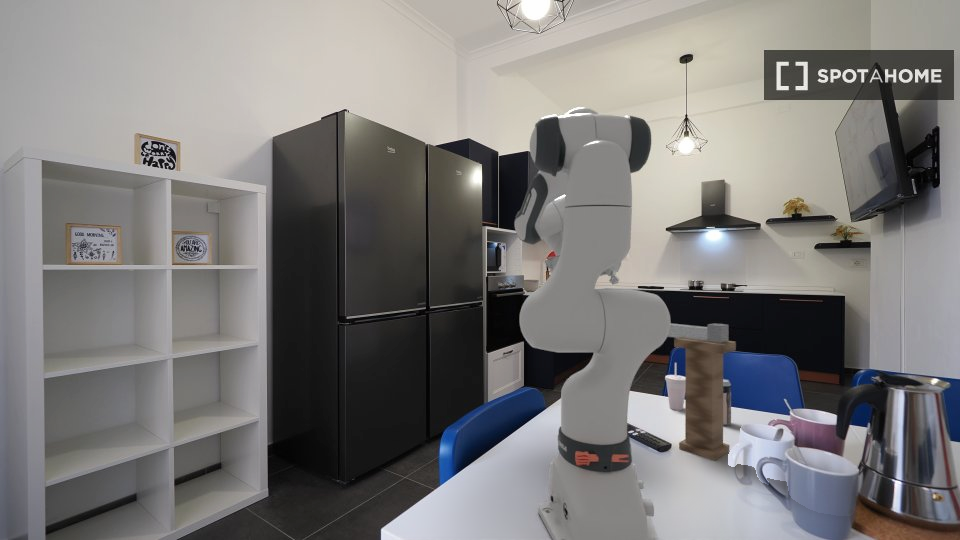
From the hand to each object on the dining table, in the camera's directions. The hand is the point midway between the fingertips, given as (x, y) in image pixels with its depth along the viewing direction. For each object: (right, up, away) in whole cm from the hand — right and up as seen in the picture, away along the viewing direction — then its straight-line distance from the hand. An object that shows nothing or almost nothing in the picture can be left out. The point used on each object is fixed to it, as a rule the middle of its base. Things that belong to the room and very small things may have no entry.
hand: (601, 285), depth 107 cm
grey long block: (+19, -13, -7) cm, 23 cm away
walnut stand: (+21, -39, -10) cm, 45 cm away
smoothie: (+29, -39, +20) cm, 52 cm away
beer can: (+36, -39, +7) cm, 53 cm away
